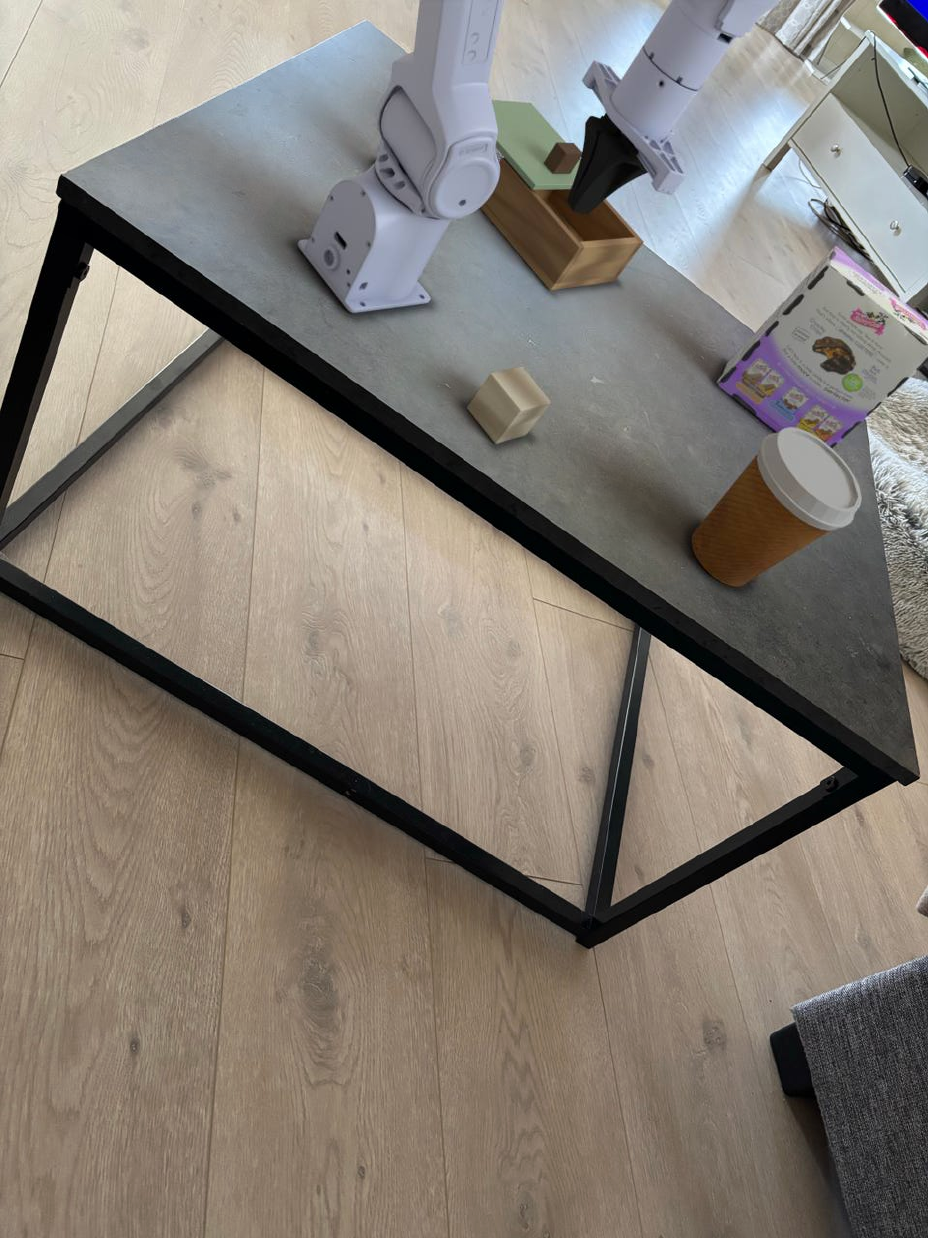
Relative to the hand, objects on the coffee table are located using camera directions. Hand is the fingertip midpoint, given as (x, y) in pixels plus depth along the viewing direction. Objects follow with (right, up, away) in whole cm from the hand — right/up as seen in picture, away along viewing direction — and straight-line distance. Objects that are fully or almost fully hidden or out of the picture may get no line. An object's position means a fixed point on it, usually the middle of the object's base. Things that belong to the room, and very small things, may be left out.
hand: (577, 207), depth 87 cm
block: (-8, -21, -8) cm, 23 cm away
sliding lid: (-3, +11, +12) cm, 17 cm away
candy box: (+23, -15, +17) cm, 32 cm away
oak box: (-2, +2, +14) cm, 14 cm away
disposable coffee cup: (+12, -32, -3) cm, 34 cm away
